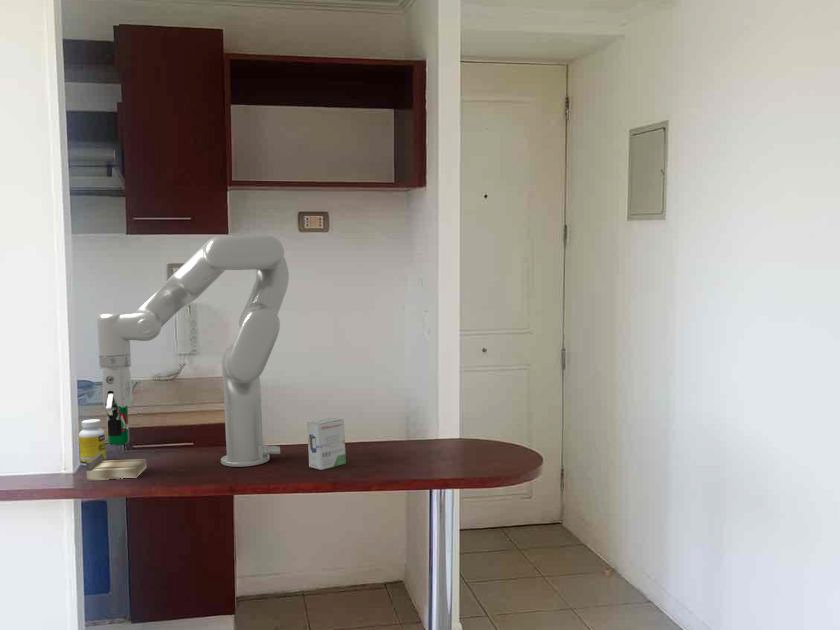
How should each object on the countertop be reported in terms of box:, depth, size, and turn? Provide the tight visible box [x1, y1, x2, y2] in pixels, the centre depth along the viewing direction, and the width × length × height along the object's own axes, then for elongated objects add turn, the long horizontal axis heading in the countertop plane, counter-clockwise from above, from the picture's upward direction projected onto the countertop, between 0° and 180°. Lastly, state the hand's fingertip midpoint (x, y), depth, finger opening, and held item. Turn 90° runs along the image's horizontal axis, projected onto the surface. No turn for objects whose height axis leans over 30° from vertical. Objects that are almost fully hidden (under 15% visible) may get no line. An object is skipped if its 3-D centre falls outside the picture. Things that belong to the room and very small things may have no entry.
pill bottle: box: [78, 418, 107, 466], centre depth 234 cm, size 6×6×12 cm
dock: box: [86, 453, 148, 482], centre depth 222 cm, size 12×10×4 cm
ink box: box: [306, 417, 347, 471], centre depth 225 cm, size 9×5×12 cm, turn 134°
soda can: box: [106, 405, 130, 447], centre depth 221 cm, size 5×5×12 cm
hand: (118, 432), depth 221 cm, fingers closed on soda can, 5 cm apart
